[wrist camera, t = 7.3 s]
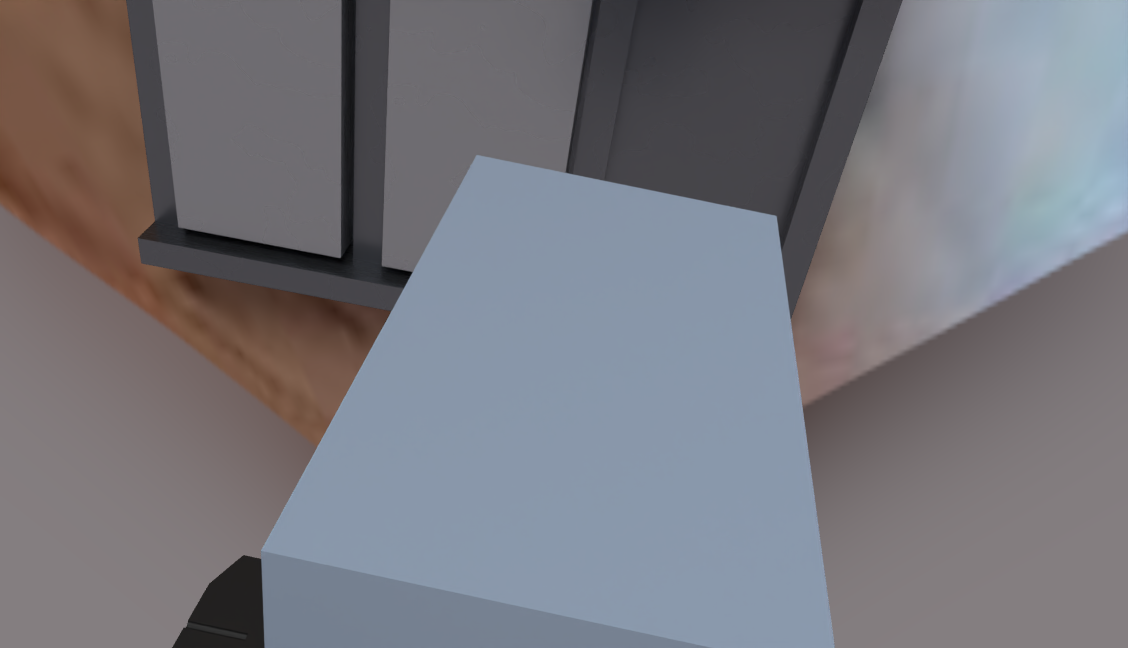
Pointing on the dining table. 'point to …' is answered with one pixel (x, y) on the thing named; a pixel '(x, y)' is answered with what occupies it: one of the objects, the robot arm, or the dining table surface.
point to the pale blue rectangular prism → (565, 439)
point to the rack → (479, 119)
